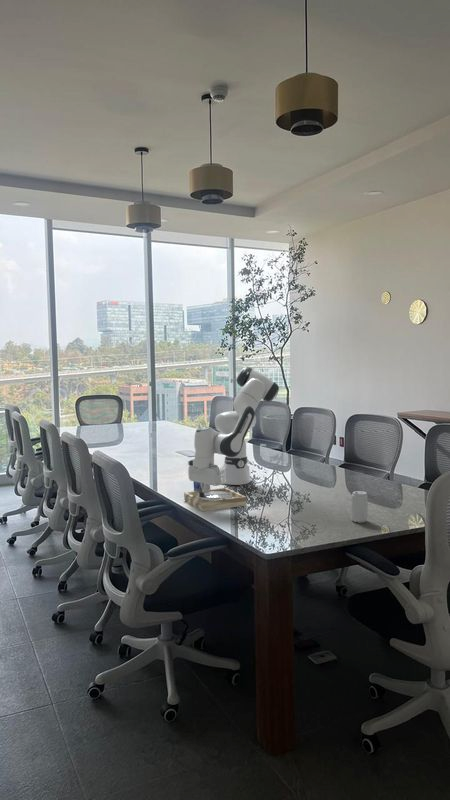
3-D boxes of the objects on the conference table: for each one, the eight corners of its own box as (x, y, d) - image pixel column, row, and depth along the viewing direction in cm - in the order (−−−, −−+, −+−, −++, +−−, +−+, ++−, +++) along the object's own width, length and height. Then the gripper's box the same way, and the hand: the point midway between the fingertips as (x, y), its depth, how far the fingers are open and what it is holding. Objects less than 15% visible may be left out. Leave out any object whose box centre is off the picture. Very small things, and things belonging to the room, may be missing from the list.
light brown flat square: (184, 500, 281) (184, 491, 280) (226, 495, 290) (226, 487, 290) (201, 511, 261) (201, 501, 261) (246, 505, 270) (246, 496, 270)
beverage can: (349, 519, 244) (349, 490, 243) (364, 518, 244) (364, 490, 244) (354, 523, 238) (354, 494, 237) (369, 523, 238) (369, 493, 237)
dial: (222, 492, 286) (221, 480, 286) (238, 499, 272) (238, 486, 271) (191, 496, 279) (190, 484, 278) (206, 504, 264) (206, 490, 264)
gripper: (224, 464, 263) (224, 495, 264) (196, 459, 279) (197, 488, 280) (213, 466, 259) (213, 497, 260) (185, 461, 275) (186, 490, 276)
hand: (204, 492), depth 270 cm, fingers closed
